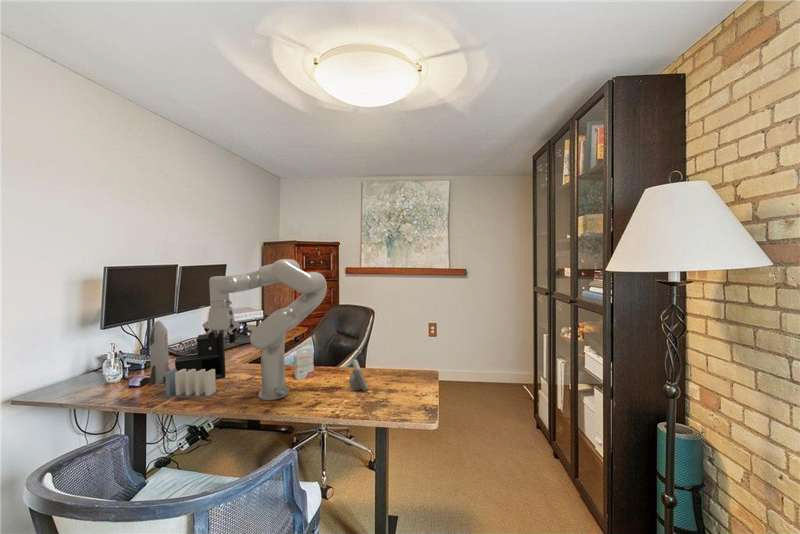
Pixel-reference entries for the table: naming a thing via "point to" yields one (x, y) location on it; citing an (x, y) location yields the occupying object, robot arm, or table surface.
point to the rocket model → (158, 353)
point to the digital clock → (357, 378)
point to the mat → (189, 395)
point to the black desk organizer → (205, 356)
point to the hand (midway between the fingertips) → (222, 342)
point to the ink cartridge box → (304, 363)
